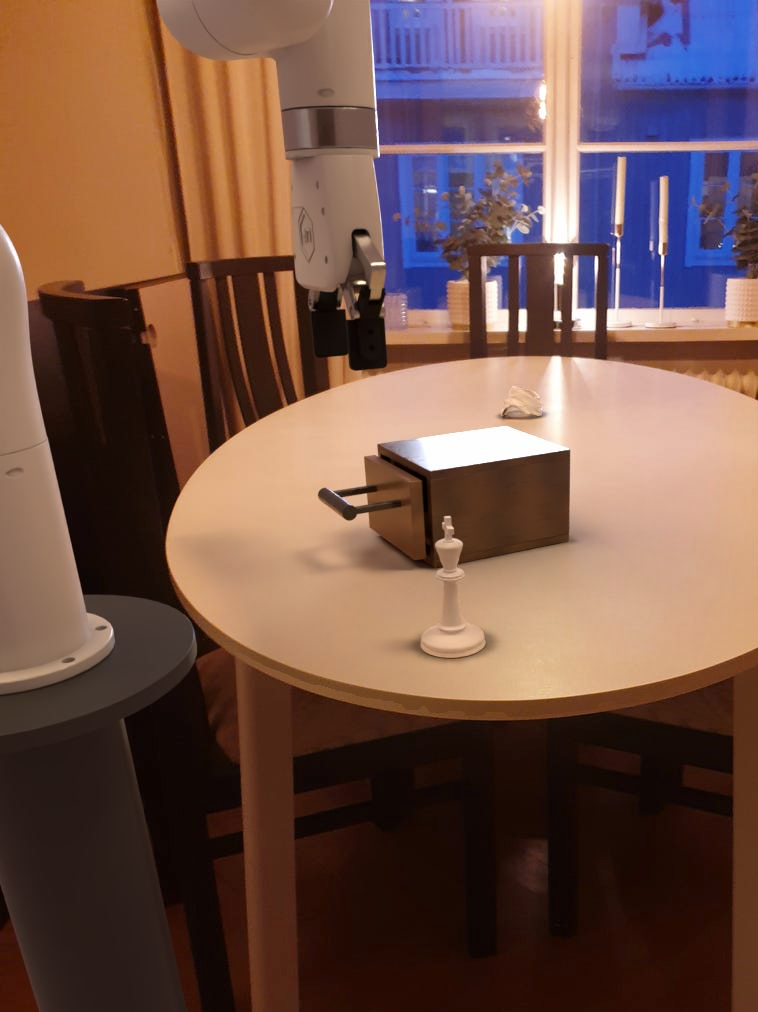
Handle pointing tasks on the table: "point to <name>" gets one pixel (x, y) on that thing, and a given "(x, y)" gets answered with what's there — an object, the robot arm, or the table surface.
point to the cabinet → (490, 489)
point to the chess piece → (451, 606)
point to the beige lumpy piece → (522, 401)
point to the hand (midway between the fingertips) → (349, 361)
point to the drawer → (389, 504)
